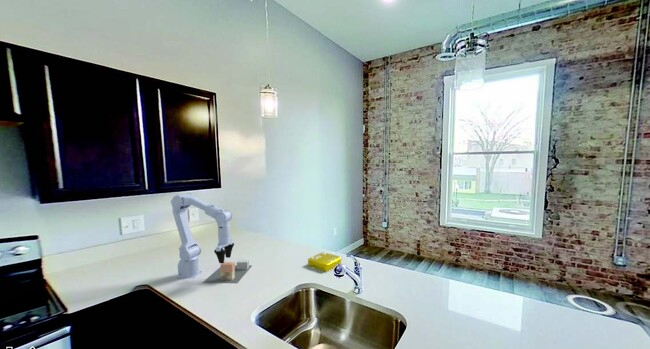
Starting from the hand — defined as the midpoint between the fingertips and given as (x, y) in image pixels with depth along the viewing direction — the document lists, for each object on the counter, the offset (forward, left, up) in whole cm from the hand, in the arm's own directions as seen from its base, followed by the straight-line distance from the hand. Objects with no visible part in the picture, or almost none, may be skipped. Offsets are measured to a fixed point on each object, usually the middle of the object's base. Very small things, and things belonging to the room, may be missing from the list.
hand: (224, 260), depth 134 cm
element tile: (+51, +20, -10) cm, 55 cm away
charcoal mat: (0, +5, -10) cm, 11 cm away
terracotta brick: (+2, -1, -5) cm, 6 cm away
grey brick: (+5, +12, -9) cm, 16 cm away
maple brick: (+2, -1, -9) cm, 9 cm away
